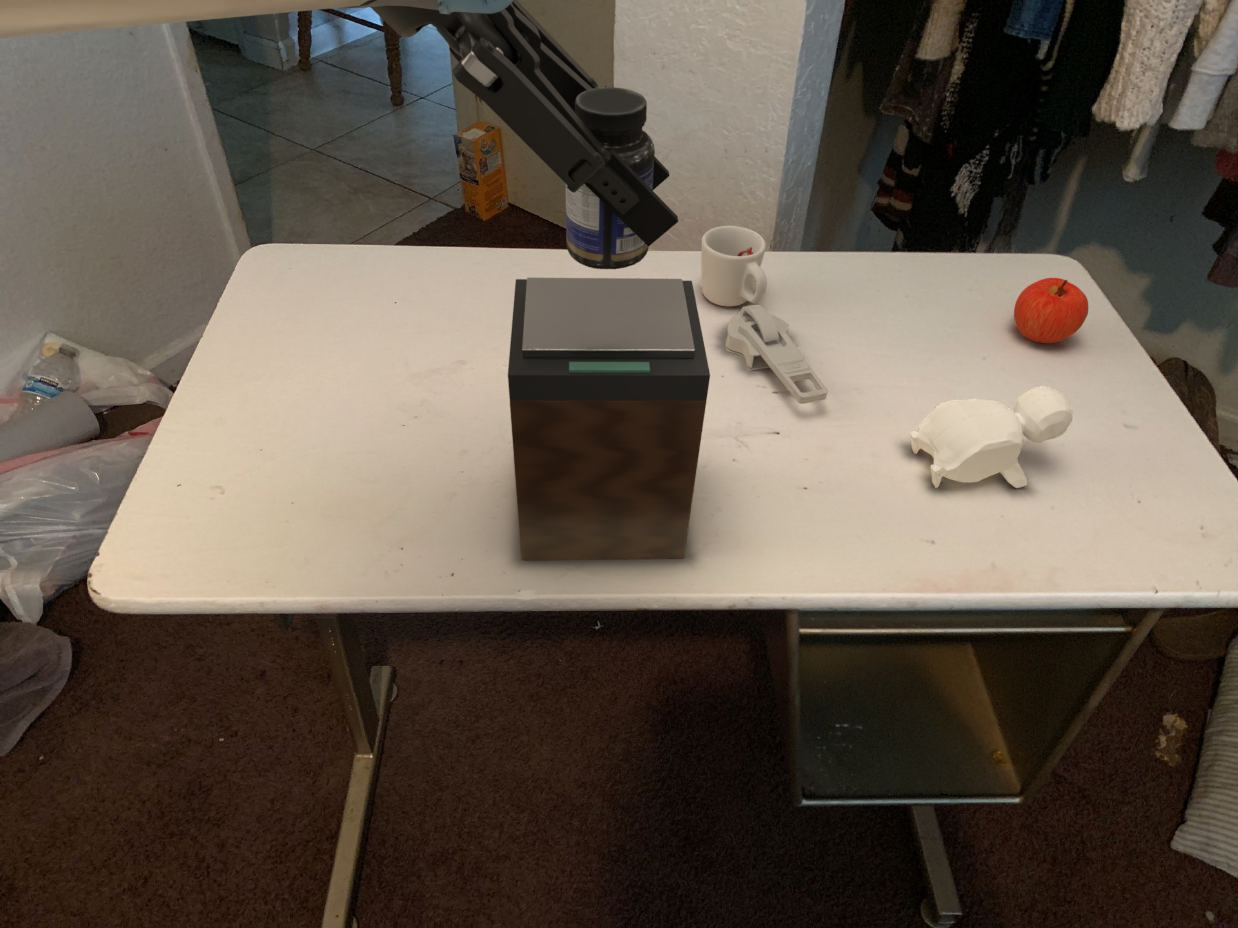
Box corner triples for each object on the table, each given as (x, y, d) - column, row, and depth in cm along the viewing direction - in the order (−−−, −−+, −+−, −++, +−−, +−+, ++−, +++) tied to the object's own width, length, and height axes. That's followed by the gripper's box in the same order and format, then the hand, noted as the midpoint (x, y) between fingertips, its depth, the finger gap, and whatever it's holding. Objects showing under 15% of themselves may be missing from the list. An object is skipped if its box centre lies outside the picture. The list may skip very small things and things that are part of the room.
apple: (1061, 319, 108) (1088, 264, 102) (1079, 356, 102) (1109, 301, 96) (998, 313, 108) (1022, 259, 102) (1013, 350, 102) (1039, 295, 97)
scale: (509, 400, 63) (507, 366, 61) (517, 304, 72) (515, 270, 70) (706, 400, 64) (711, 366, 61) (689, 305, 73) (692, 272, 71)
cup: (782, 314, 106) (793, 259, 101) (731, 331, 103) (740, 275, 97) (732, 274, 113) (741, 219, 107) (683, 288, 110) (689, 233, 104)
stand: (521, 560, 76) (509, 400, 63) (526, 461, 85) (517, 304, 72) (684, 558, 77) (706, 400, 64) (671, 460, 86) (689, 305, 73)
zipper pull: (777, 423, 91) (784, 393, 88) (713, 330, 103) (717, 301, 100) (841, 410, 93) (850, 380, 90) (770, 320, 105) (776, 291, 102)
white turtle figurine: (943, 516, 86) (1087, 465, 84) (938, 464, 80) (1093, 408, 78) (908, 459, 92) (1043, 410, 90) (901, 407, 86) (1045, 354, 84)
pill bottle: (644, 230, 64) (654, 83, 56) (652, 273, 60) (663, 119, 52) (564, 230, 64) (563, 81, 56) (566, 273, 59) (565, 118, 52)
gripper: (379, -55, 56) (615, 181, 68) (318, 41, 42) (627, 315, 54) (451, -150, 52) (685, 117, 65) (411, -78, 39) (717, 242, 51)
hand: (658, 207), depth 59 cm, fingers closed on pill bottle, 6 cm apart
